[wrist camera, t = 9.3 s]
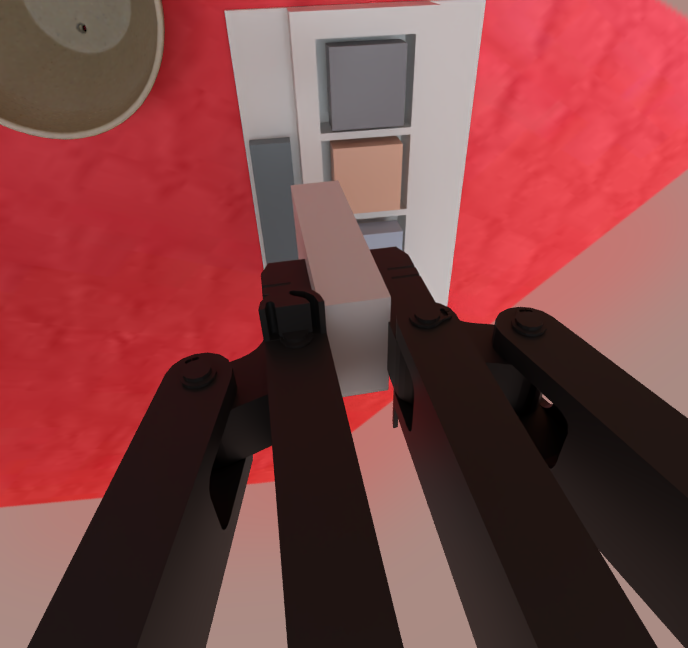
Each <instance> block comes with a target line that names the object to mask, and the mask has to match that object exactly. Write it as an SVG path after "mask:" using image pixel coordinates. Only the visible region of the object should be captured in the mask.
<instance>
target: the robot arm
mask: <svg viewBox="0 0 688 648" xmlns="http://www.w3.org/2000/svg"><path fill="white" fill-rule="evenodd" d="M291 193H292V203H293V212H294V221H295V230H296V239H297V248H298V258H299V260H291V261H282V262H274V263H268V264H267V266H266V267H265V269H264V270H263V272H262V274H261V281H262V294H263V300H262V301H261V302H260V306H259V309H258V311H259V316H260V322H261V327H262V333H263V338H264V340H263V342H262V343H261V344H260V346H259V347H258V348H257V349H256V350H254V351H253V352H251V353H250V354H248V355H246V356H244V357H242V358H240V359H237V360H234V361H232V362H229V360H228V359H226V358H225V357H223V356H221V355H219V354H213V353H200V354H194V355H191V356H189V357H186V358H183V359H181V360H180V361H178V362H177V363H175V364H174V365H173V366H172V367H171V368H170V369H169V370H168V372H167V373H166V374H165V376H164V378H163V380H162V382H161V384H160V386H159V388H158V390H157V392H156V394H155V396H154V398H153V400H152V402H151V404H150V406H149V408H148V410H147V412H146V414H145V415H144V417H143V419H142V421H141V423H140V425H139V427H138V429H137V431H136V433H135V435H134V437H133V439H132V441H131V443H130V445H129V447H128V449H127V451H126V453H125V455H124V457H123V459H122V461H121V463H120V465H119V467H118V469H117V471H116V473H115V475H114V477H113V479H112V481H111V483H110V485H109V487H108V489H107V491H106V493H105V495H104V497H103V499H102V501H101V503H100V505H99V507H98V508H97V511H96V513H95V515H94V517H93V518H92V520H91V522H90V524H89V526H88V528H87V530H86V532H85V534H84V536H83V538H82V540H81V542H80V544H79V546H78V548H77V550H76V552H75V554H74V556H73V558H72V560H71V562H70V564H69V566H68V568H67V570H66V572H65V574H64V576H63V578H62V580H61V582H60V584H59V586H58V588H57V590H56V592H55V594H54V596H53V598H52V600H51V601H50V603H49V606H48V607H47V609H46V612H45V613H44V616H43V618H42V619H41V621H40V623H39V626H38V628H37V630H36V631H35V633H34V635H33V637H32V639H31V641H30V643H29V645H28V647H27V648H206V644H207V640H208V635H209V632H210V628H211V624H212V620H213V616H214V612H215V608H216V604H217V600H218V596H219V592H220V588H221V584H222V580H223V576H224V572H225V568H226V564H227V560H228V556H229V552H230V548H231V544H232V540H233V536H234V532H235V528H236V524H237V520H238V516H239V512H240V508H241V504H242V500H243V496H244V492H245V488H246V484H247V480H248V476H249V472H250V469H251V465H252V461H253V454H255V453H257V452H259V451H261V450H263V449H265V448H268V447H270V446H272V450H273V463H274V476H275V487H276V501H277V514H278V527H279V540H280V553H281V566H282V579H283V591H284V605H285V617H286V631H287V644H288V648H404V647H403V643H402V639H401V635H400V631H399V627H398V623H397V619H396V614H395V611H394V606H393V603H392V598H391V594H390V590H389V586H388V582H387V578H386V574H385V570H384V565H383V561H382V557H381V553H380V549H379V545H378V541H377V537H376V533H375V529H374V524H373V520H372V516H371V512H370V508H369V504H368V500H367V496H366V492H365V487H364V484H363V479H362V475H361V471H360V467H359V463H358V459H357V455H356V451H355V447H354V442H353V438H352V434H351V430H350V426H349V422H348V418H347V414H346V410H345V406H344V401H343V397H346V396H352V395H359V394H365V393H371V392H378V391H384V390H388V383H389V376H390V379H391V382H392V385H393V387H394V395H393V428H396V427H398V420H399V422H400V425H401V428H402V431H403V434H404V437H405V440H406V443H407V446H408V449H409V451H410V454H411V457H412V460H413V463H414V466H415V469H416V472H417V474H418V477H419V480H420V483H421V486H422V489H423V492H424V495H425V498H426V501H427V504H428V506H429V509H430V512H431V515H432V518H433V521H434V524H435V526H436V530H437V532H438V535H439V538H440V541H441V544H442V547H443V550H444V553H445V556H446V558H447V561H448V564H449V567H450V570H451V573H452V576H453V579H454V582H455V584H456V587H457V590H458V593H459V596H460V599H461V602H462V605H463V608H464V611H465V614H466V616H467V619H468V622H469V625H470V628H471V631H472V634H473V637H474V639H475V643H476V645H477V648H657V646H656V644H655V642H654V641H653V639H652V638H651V636H650V634H649V633H648V631H647V629H646V628H645V626H644V624H643V622H642V621H641V619H640V618H639V616H638V614H637V613H636V611H635V609H634V608H633V606H632V604H631V603H630V601H629V599H628V598H627V596H626V595H625V593H624V591H623V590H622V588H621V586H620V584H619V583H618V581H617V580H616V578H615V576H614V575H613V573H612V571H611V570H610V568H609V566H608V565H607V563H606V561H605V560H604V558H603V557H602V555H601V553H602V554H603V555H604V556H605V557H606V559H607V560H608V561H609V562H610V563H611V564H612V565H613V567H614V568H615V569H616V570H617V571H618V572H619V573H620V575H621V576H622V577H623V578H624V579H625V580H626V581H627V582H628V584H629V585H630V586H631V587H632V588H633V589H634V590H635V592H636V593H637V594H638V595H639V596H640V597H641V598H642V599H643V601H644V602H645V603H646V604H647V605H648V606H649V607H650V609H651V610H652V611H653V612H654V613H655V614H656V615H657V617H658V618H659V619H660V620H661V621H662V622H663V623H664V624H665V626H667V628H668V629H669V630H670V631H671V632H672V633H673V635H674V636H675V637H676V638H677V639H678V640H679V641H680V642H681V644H682V645H683V646H684V647H685V648H688V418H686V417H685V416H684V415H682V414H681V413H680V412H679V411H677V410H676V409H675V408H673V407H672V406H670V405H669V404H668V403H667V402H665V401H664V400H662V399H661V398H660V397H658V396H657V395H656V394H655V393H653V392H651V390H649V389H648V388H647V387H645V386H644V385H643V384H641V383H640V382H639V381H637V380H636V379H635V378H633V377H632V376H631V375H629V374H628V373H626V372H625V371H624V370H623V369H621V368H620V367H619V366H617V365H616V364H615V363H613V362H612V361H611V360H609V359H608V358H607V357H605V356H604V355H603V354H601V353H600V352H599V351H597V350H596V349H595V348H593V347H592V346H591V345H589V344H588V343H587V342H585V341H584V340H583V339H582V338H580V337H579V336H577V335H576V334H575V333H574V332H572V331H571V330H569V329H568V328H567V327H566V326H564V325H563V324H562V323H560V322H559V321H558V320H556V319H555V318H554V317H552V316H550V315H548V314H547V313H545V312H543V311H540V310H536V309H533V308H526V307H515V308H509V309H506V310H504V311H503V312H501V313H499V315H498V316H497V318H496V320H495V325H491V324H478V323H469V322H463V321H460V320H459V319H458V317H457V315H456V314H455V313H454V312H453V311H452V310H451V309H450V308H449V307H447V306H445V305H443V304H441V303H436V302H435V300H434V299H433V297H432V295H431V293H430V292H429V290H428V288H427V286H426V285H425V283H424V281H423V279H422V278H421V276H419V272H418V271H417V269H416V267H414V264H413V262H412V260H411V258H410V257H409V255H408V254H407V253H405V252H404V251H402V250H401V249H399V248H397V247H396V246H395V247H387V248H378V249H370V250H369V247H368V245H367V243H366V241H365V239H364V236H363V234H362V232H361V230H360V227H359V225H358V223H357V221H356V219H355V216H354V214H353V212H352V210H351V208H350V205H349V203H348V201H347V199H346V196H345V194H344V192H343V190H342V188H341V185H340V183H339V181H338V180H337V181H327V182H318V183H308V184H298V185H291ZM542 394H544V395H545V396H546V397H547V398H548V399H549V400H550V401H551V402H552V403H553V404H550V403H548V402H547V401H546V400H545V399H544V398H542ZM600 552H601V553H600Z"/></svg>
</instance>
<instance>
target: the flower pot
mask: <svg viewBox="0 0 688 648" xmlns="http://www.w3.org/2000/svg"><path fill="white" fill-rule="evenodd" d="M84 25H85V26H86V32H85V31H84V29H83V26H84ZM164 33H165V27H164V14H163V6H162V1H161V0H0V124H1V125H3V126H6V127H8V128H11V129H13V130H16V131H19V132H23V133H26V134H29V135H33V136H38V137H44V138H51V139H79V138H85V137H90V136H95V135H98V134H101V133H104V132H106V131H108V130H110V129H113V128H114V127H116V126H118V125H119V124H121V123H123V122H124V121H125V120H127V119H128V118H129V117H130V116H131V115H132V114H134V113H135V112H136V111H137V109H138V108H139V107H140V106H141V105H142V104H143V102H144V101H145V99H146V98H147V96H148V94H149V93H150V91H151V89H152V87H153V85H154V82H155V80H156V77H157V74H158V71H159V68H160V65H161V61H162V56H163V49H164Z"/></svg>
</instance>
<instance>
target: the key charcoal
mask: <svg viewBox="0 0 688 648" xmlns="http://www.w3.org/2000/svg"><path fill="white" fill-rule="evenodd" d="M407 44H408V43H407V42H405V41H403V40H402V39H383V40H365V41H347V42H329V43H325V48H326V69H327V91H328V113H329V124H330V126H331V129H332V131H337V130H350V129H364V128H378V127H391V126H404V110H405V88H406V66H407Z"/></svg>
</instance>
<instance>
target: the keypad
mask: <svg viewBox="0 0 688 648" xmlns="http://www.w3.org/2000/svg"><path fill="white" fill-rule="evenodd" d="M485 3H486V0H423V1H402V2H381V3H360V4H339V5H318V6H297V7H276V8H255V9H234V10H225V11H224V12H225V18H226V25H227V31H228V38H229V45H230V51H231V58H232V64H233V71H234V77H235V84H236V90H237V97H238V103H239V110H240V116H241V123H242V130H243V136H244V143H245V149H246V156H247V162H248V169H249V175H250V182H251V188H252V195H253V201H254V208H255V215H256V221H257V228H258V234H259V241H260V247H261V254H262V260H263V267H264V269H265V267H266V266H267V264H268V263H274V262H282V261H291V260H299V258H298V248H297V239H296V230H295V221H294V212H293V203H292V193H291V185H298V184H308V183H318V182H327V181H332V178H331V156H330V141H331V140H344V139H357V138H370V137H384V136H397V137H398V138H399V139H400V141H401V142H402V143H403V154H402V176H401V198H400V210H391V211H380V212H369V213H358V214H354V216H355V219H356V221H357V223H358V224H359V223H370V222H381V221H392V220H397V221H398V223H399V225H400V227H401V229H402V230H403V240H402V251H404V252H405V253H407V254H408V255H409V257H410V258H411V260H412V262H413V264H414V267H416V269H417V271H418V272H419V276H421V278H422V279H423V281H424V283H425V285H426V286H427V288H428V290H429V292H430V293H431V295H432V297H433V299H434V300H435V302H436V303H441V304H443V305H445V306H447V303H448V295H449V287H450V279H451V271H452V264H453V256H454V248H455V240H456V232H457V224H458V216H459V208H460V200H461V192H462V185H463V177H464V169H465V161H466V153H467V145H468V137H469V129H470V121H471V113H472V106H473V98H474V90H475V82H476V74H477V66H478V58H479V50H480V42H481V34H482V27H483V19H484V11H485ZM383 39H402V40H403V41H405V42H407V43H408V44H407V66H406V88H405V110H404V126H391V127H378V128H364V129H350V130H337V131H332V129H331V126H330V124H329V113H328V91H327V69H326V48H325V43H329V42H347V41H365V40H383Z"/></svg>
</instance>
